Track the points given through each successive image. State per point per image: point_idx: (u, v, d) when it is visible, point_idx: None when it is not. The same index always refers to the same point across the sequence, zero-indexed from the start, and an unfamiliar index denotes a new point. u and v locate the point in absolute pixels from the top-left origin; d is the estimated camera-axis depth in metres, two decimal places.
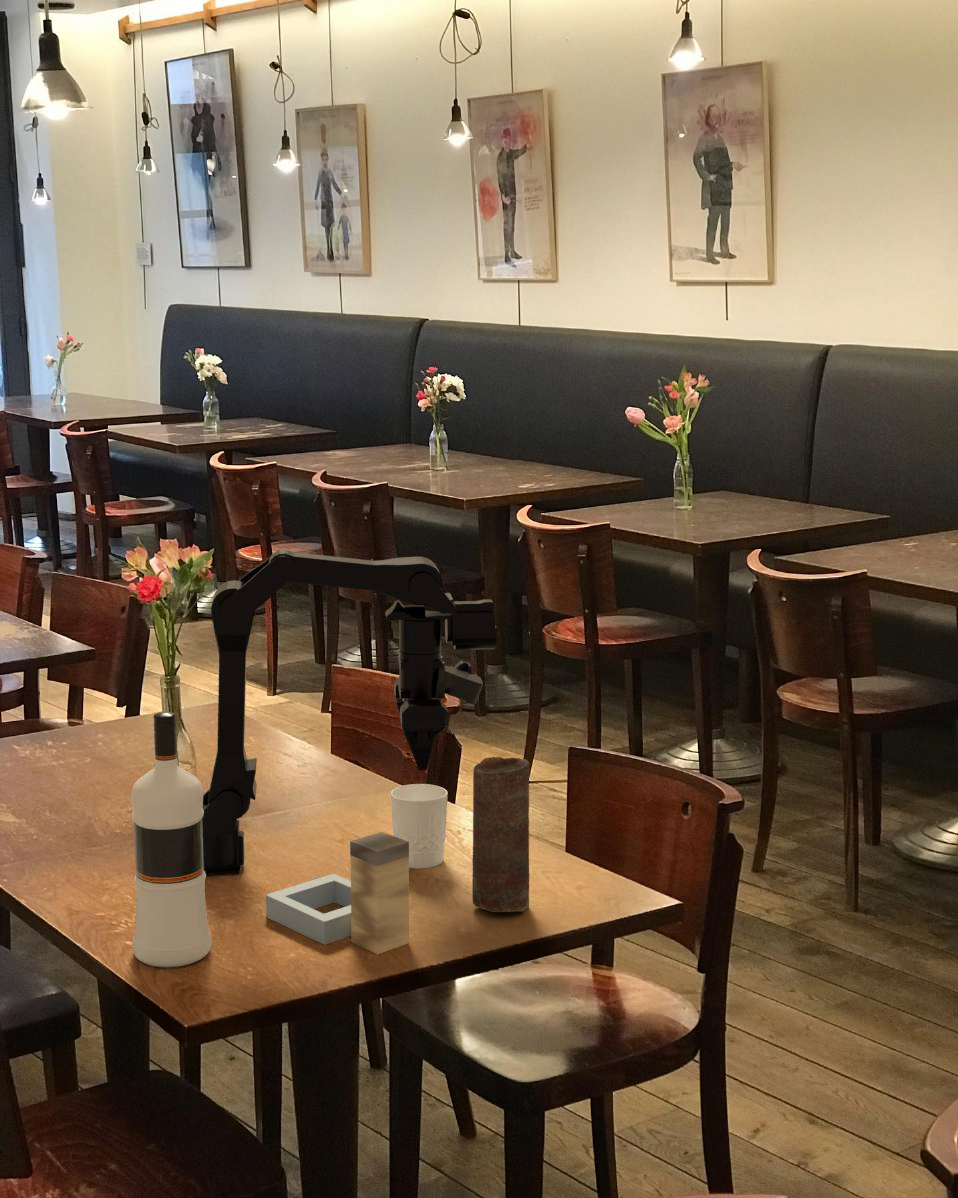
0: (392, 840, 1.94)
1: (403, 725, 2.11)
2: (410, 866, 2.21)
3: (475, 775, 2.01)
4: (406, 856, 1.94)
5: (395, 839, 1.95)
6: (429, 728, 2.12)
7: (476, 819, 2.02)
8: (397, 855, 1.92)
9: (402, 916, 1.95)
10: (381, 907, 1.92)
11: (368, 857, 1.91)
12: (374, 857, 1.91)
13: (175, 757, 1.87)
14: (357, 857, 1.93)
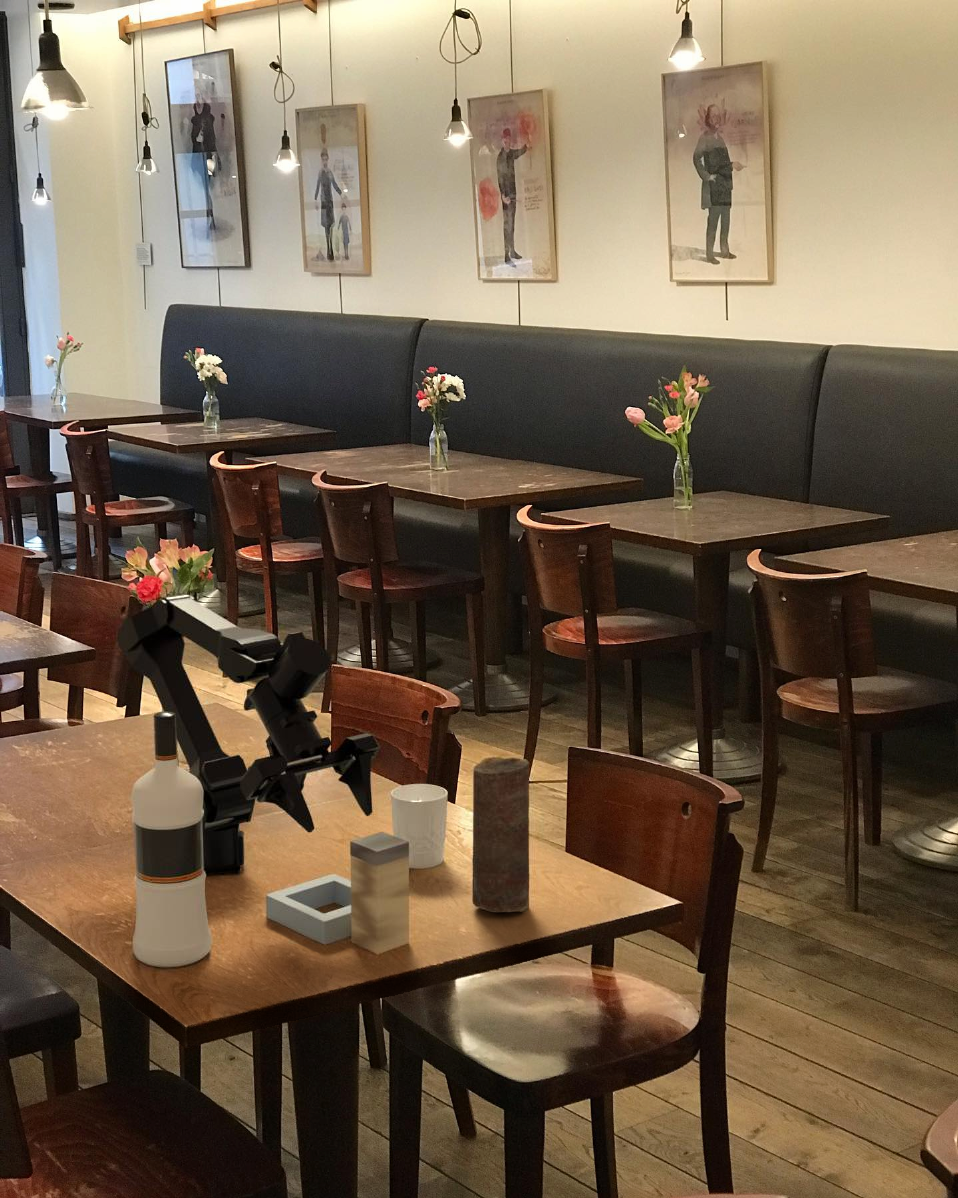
0: (392, 840, 1.94)
1: (379, 746, 2.06)
2: (410, 866, 2.21)
3: (475, 775, 2.01)
4: (406, 856, 1.94)
5: (395, 838, 1.95)
6: None
7: (476, 819, 2.02)
8: (397, 854, 1.93)
9: (402, 916, 1.95)
10: (381, 907, 1.92)
11: (368, 857, 1.91)
12: (374, 857, 1.91)
13: (175, 757, 1.87)
14: (357, 857, 1.93)
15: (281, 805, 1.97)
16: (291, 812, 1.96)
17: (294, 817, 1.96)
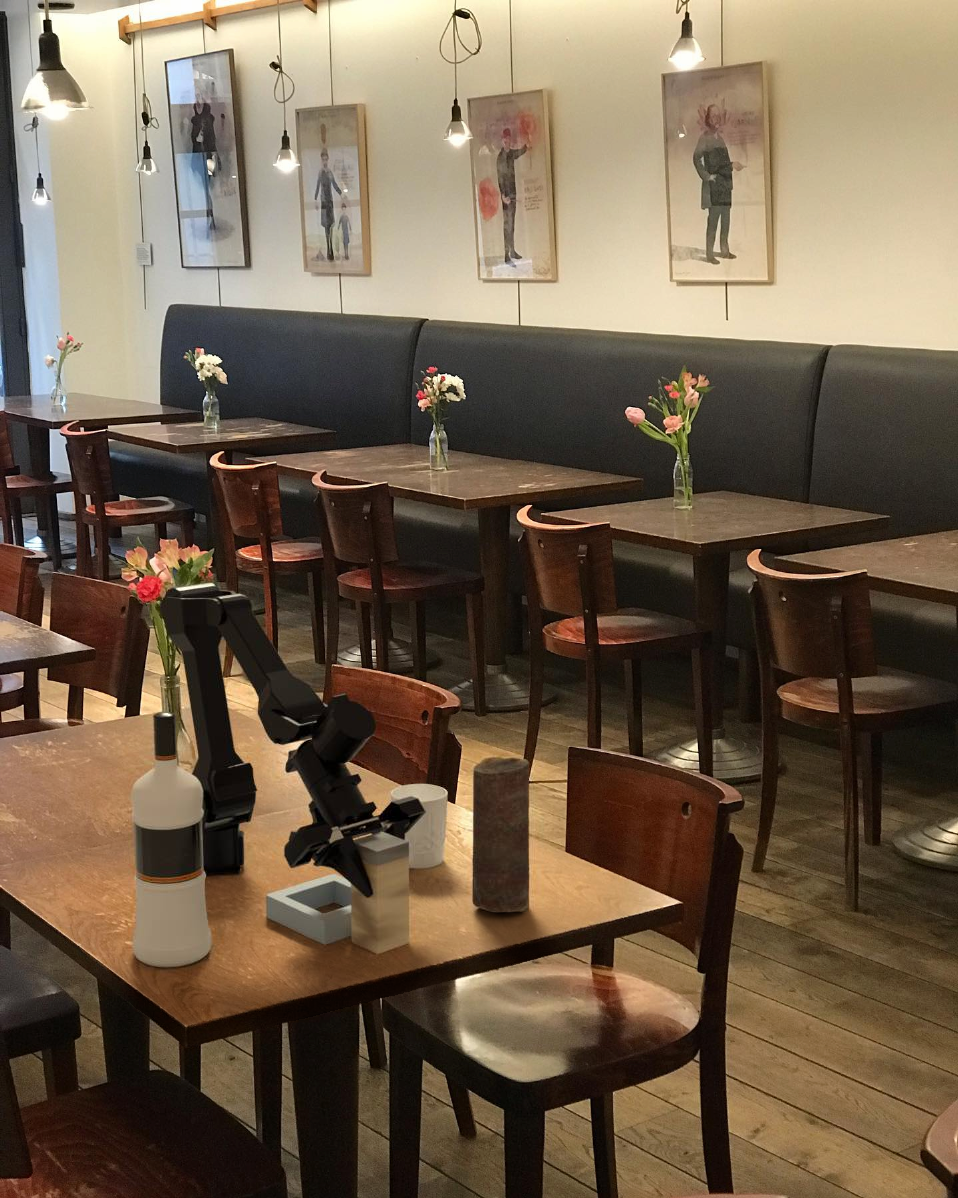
0: (392, 840, 1.94)
1: (424, 809, 2.01)
2: (410, 866, 2.21)
3: (475, 775, 2.01)
4: (406, 855, 1.94)
5: (395, 838, 1.95)
6: None
7: (476, 819, 2.02)
8: (397, 854, 1.93)
9: (402, 916, 1.95)
10: (381, 907, 1.92)
11: (368, 857, 1.91)
12: (374, 857, 1.91)
13: (175, 757, 1.87)
14: None
15: (339, 869, 1.93)
16: (349, 876, 1.93)
17: (352, 882, 1.93)
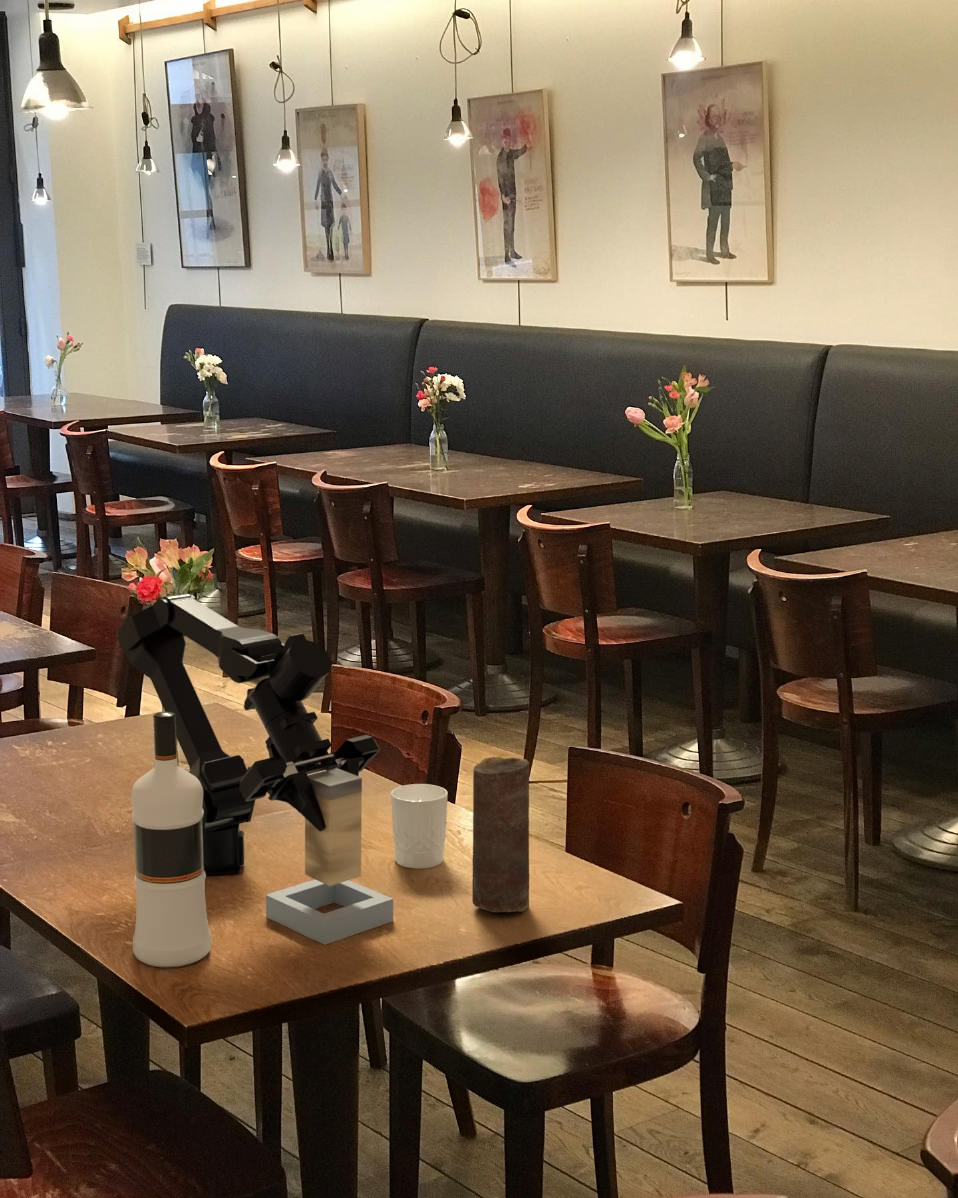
0: (346, 776, 1.99)
1: (378, 748, 2.06)
2: (410, 866, 2.21)
3: (475, 775, 2.01)
4: (359, 791, 1.99)
5: (349, 774, 2.00)
6: None
7: (476, 819, 2.02)
8: (350, 790, 1.98)
9: (354, 850, 2.00)
10: (333, 841, 1.97)
11: (322, 792, 1.97)
12: (327, 791, 1.96)
13: (175, 757, 1.87)
14: None
15: (293, 803, 1.98)
16: (302, 810, 1.98)
17: (305, 816, 1.98)
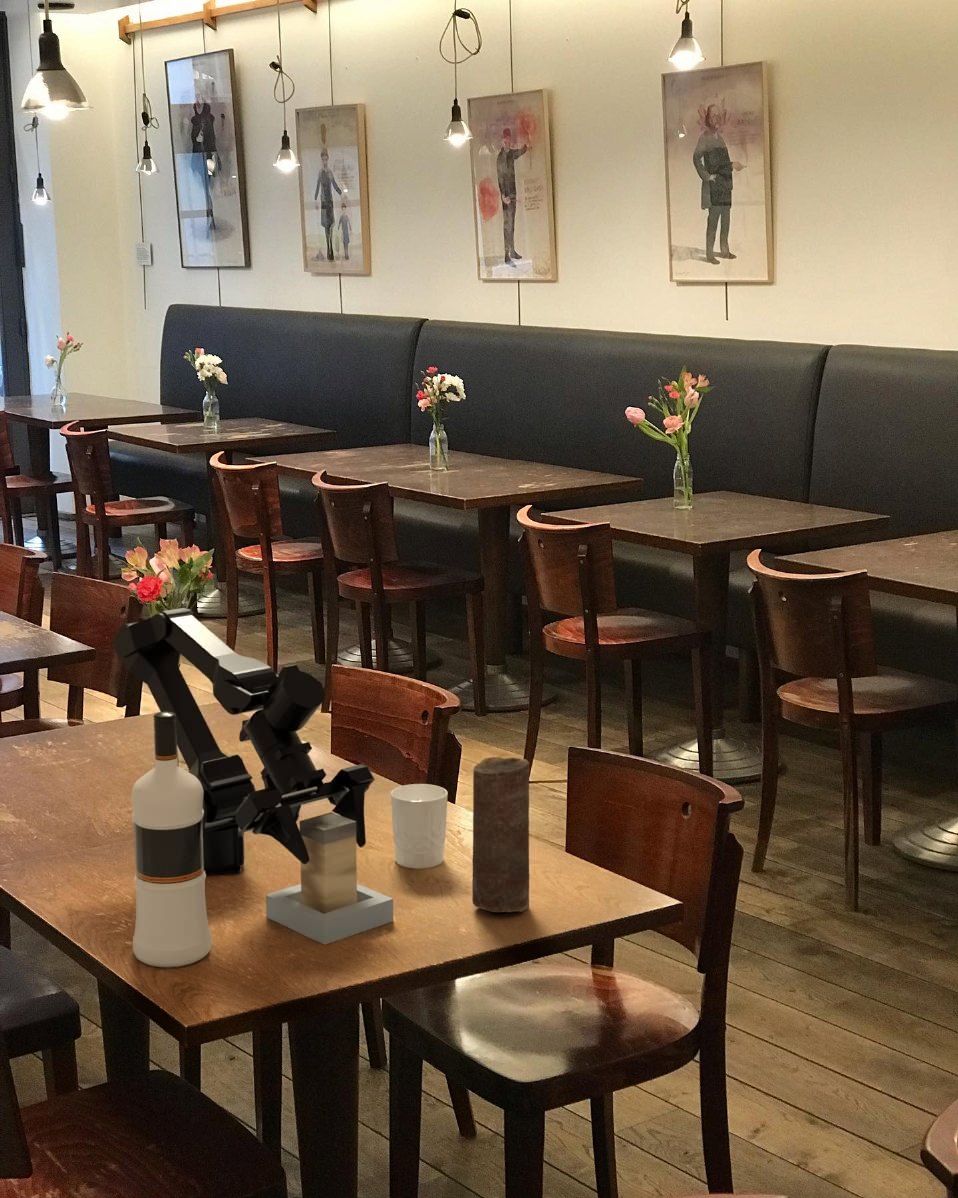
0: (340, 820, 2.01)
1: (373, 777, 2.07)
2: (410, 866, 2.21)
3: (475, 775, 2.01)
4: (353, 835, 2.01)
5: (343, 818, 2.02)
6: None
7: (476, 819, 2.02)
8: (344, 833, 2.00)
9: (350, 893, 2.02)
10: (329, 885, 1.99)
11: (316, 836, 1.99)
12: (322, 836, 1.98)
13: (175, 757, 1.87)
14: (306, 836, 2.00)
15: (277, 837, 1.99)
16: (286, 844, 1.98)
17: (289, 849, 1.98)
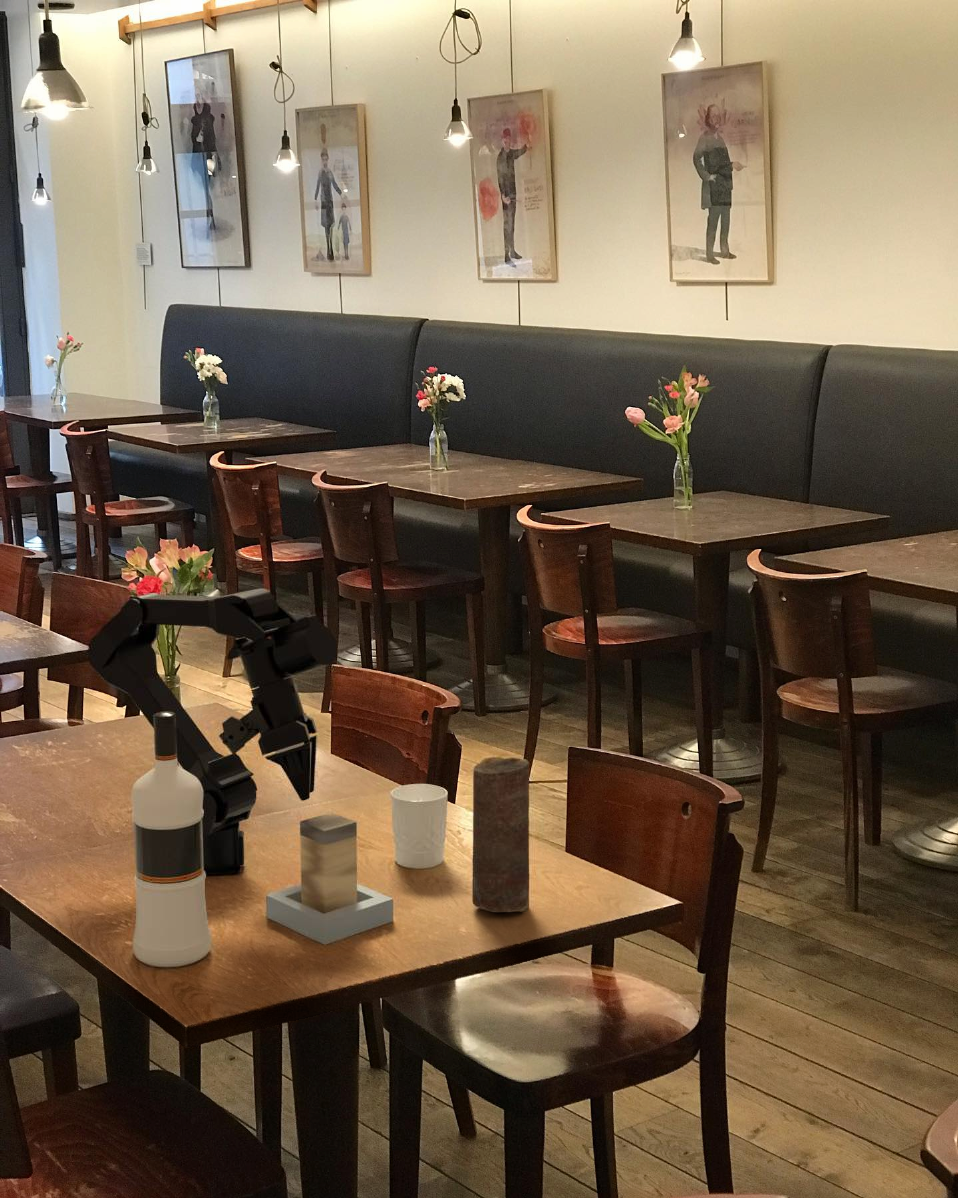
0: (341, 820, 2.01)
1: (315, 730, 2.19)
2: (410, 866, 2.21)
3: (475, 775, 2.01)
4: (354, 835, 2.01)
5: (343, 819, 2.02)
6: None
7: (476, 819, 2.02)
8: (345, 834, 2.00)
9: (350, 894, 2.02)
10: (329, 885, 1.99)
11: (317, 837, 1.98)
12: (322, 836, 1.98)
13: (175, 757, 1.87)
14: (306, 836, 2.00)
15: (286, 768, 2.04)
16: (293, 777, 2.05)
17: (294, 783, 2.05)
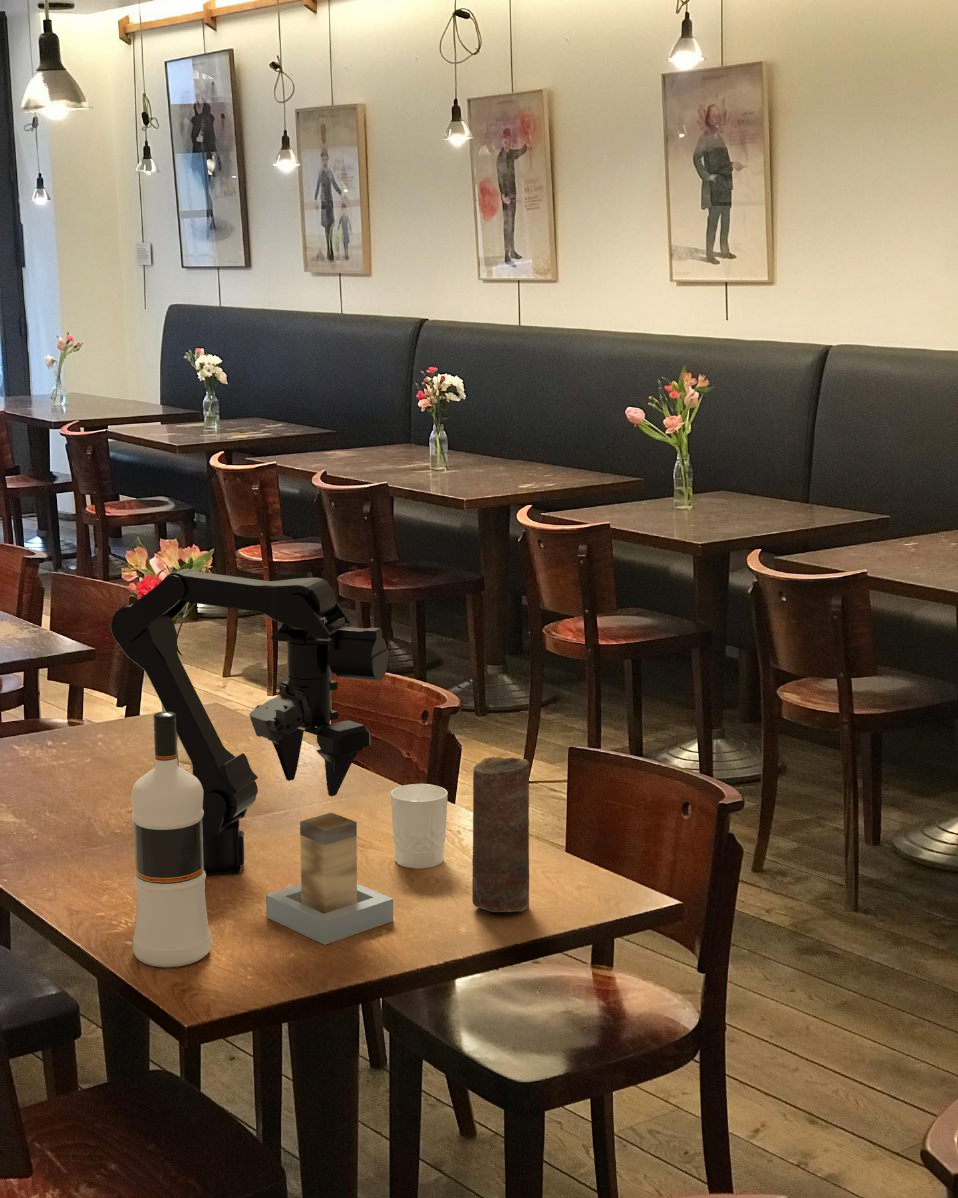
0: (341, 820, 2.01)
1: None
2: (410, 866, 2.21)
3: (475, 775, 2.01)
4: (354, 835, 2.01)
5: (343, 819, 2.02)
6: None
7: (476, 819, 2.02)
8: (345, 834, 2.00)
9: (350, 894, 2.02)
10: (329, 885, 1.99)
11: (317, 837, 1.98)
12: (322, 836, 1.98)
13: (175, 757, 1.87)
14: (306, 836, 2.00)
15: (334, 765, 2.08)
16: (334, 774, 2.09)
17: (333, 779, 2.09)
